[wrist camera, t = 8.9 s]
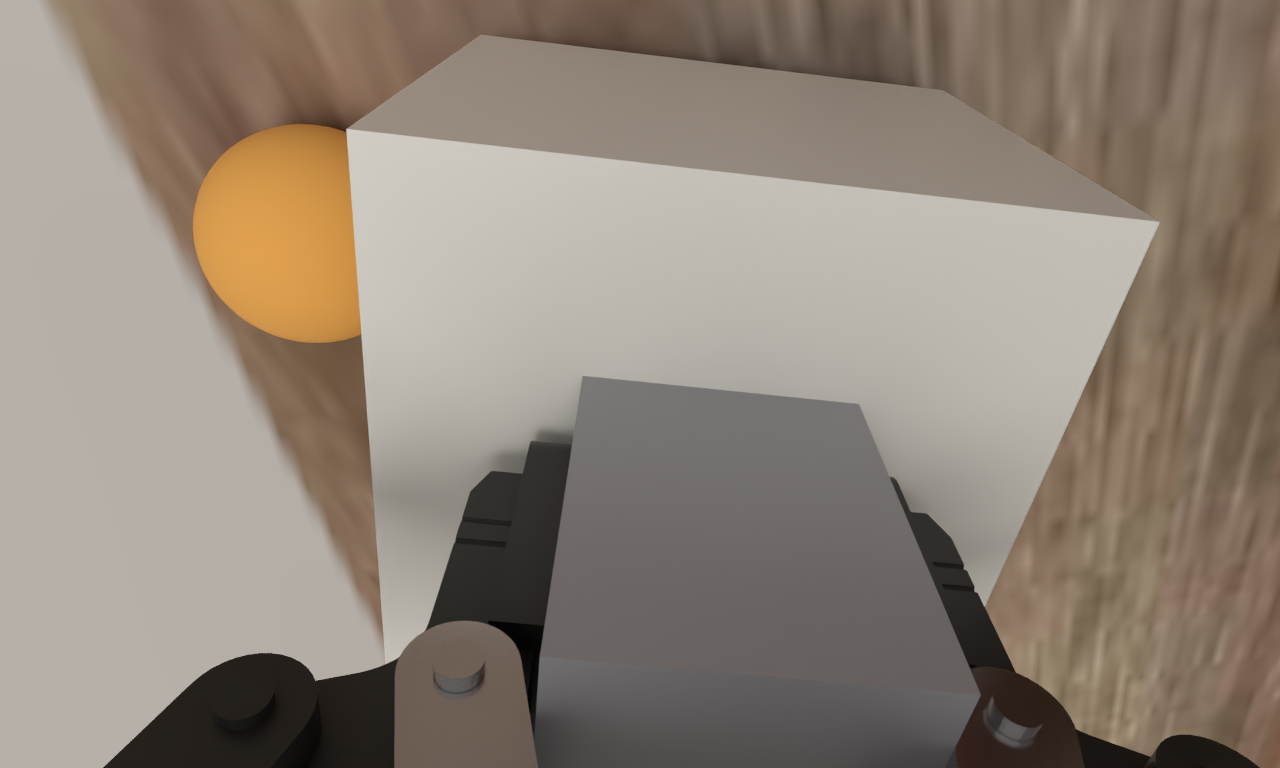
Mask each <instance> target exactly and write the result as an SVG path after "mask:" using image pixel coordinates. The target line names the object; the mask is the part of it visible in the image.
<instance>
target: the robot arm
mask: <svg viewBox="0 0 1280 768" xmlns="http://www.w3.org/2000/svg"><path fill="white" fill-rule="evenodd" d="M571 449H572V445H569V444H559V443H549V442H539V441H531V442H530V445H529V449H528V453H527V457H526V462H525V466H524V470H523V474H520V473H510V472H500V471H491V472H490V473H489V474H488V475H487V476H485V477H484V478H483V479H482V480H481V481H480V482H479V483H478V484H477V485H476V486H475V487H474V488H473V489H472V490H471V491H470V494H469V497H468V500H467V503H466V506H465V510H464V513H463V516H462V522H460V525H459V529H458V532H457V535H456V540H455V543H454V544H453V547H452V551H451V554H450V557H449V560H448V563H447V566H446V570H445V573H444V576H443V579H442V582H441V585H440V589H439V592H438V595H437V598H436V601H435V604H434V607H433V611H432V614H431V617H430V620H429V623H428V625H427V628H426V630H425V631H424V632H423V633H421V634H420V635H418V636H417V637H416V638H414V639H413V640H412V641H411V642H410V643H409V644H408V645H407V646H406V648H405V649H404V650H403V652H402V654H401V655H400V657H398V658H397V659H395V660H393V661H391V662H389V663H387V664H385V665H383V666H381V667H378V668H375V669H372V670H368V671H365V672H361V673H356V674H350V675H345V676H340V677H334V678H329V679H324V680H318V681H315V679H314V677H313V675H312V673H311V672H310V671H309V669H308V668H307V667H306V666H304V665H303V664H302V663H301V662H299V661H297V660H295V659H293V658H291V657H287V656H284V655H279V654H272V653H259V654H252V655H246V656H242V657H238V658H234V659H232V660H229V661H226V662H224V663H222V664H220V665H218V666H216V667H214V668H212V669H210V670H209V671H207V672H206V673H204V674H203V675H201V676H200V677H199V678H198V679H196V680H195V681H194V682H193V683H192V684H191V685H190V686H189V687H187V688H186V689H185V690H184V691H183V692H182V693H181V694H180V695H179V696H178V697H177V698H176V699H175V700H174V701H173V702H172V703H171V704H170V705H169V706H167V707H166V709H164V710H163V711H162V712H161V713H160V714H159V715H158V716H157V717H156V718H155V719H154V720H153V721H152V722H151V723H150V724H149V725H148V726H147V727H146V728H144V729H143V730H142V732H140V733H139V734H138V735H137V736H136V737H135V738H134V739H133V740H132V741H131V742H130V743H129V744H128V745H127V746H126V747H124V748H123V749H122V750H121V751H120V752H119V753H118V754H117V755H116V756H115V757H114V758H113V759H112V760H111V761H110V762H109V763H108V764H107V765H106V766H105V767H103V768H538V764H537V757H536V751H535V745H534V734H535V719H536V705H537V690H538V675H539V661H540V652H541V645H542V639H543V632H544V626H545V619H546V612H547V606H548V599H549V593H550V586H551V580H552V573H553V567H554V560H555V554H556V547H557V540H558V534H559V527H560V521H561V514H562V508H563V501H564V495H565V488H566V482H567V475H568V468H569V462H570V455H571ZM890 479H891V482H892V484H893V487H894V489H895V491H896V494H897V496H898V498H899V501H900V503H901V506H902V508H903V510H904V513H905V515H906V518H907V520H908V522H909V525H910V527H911V529H912V532H913V534H914V537H915V539H916V541H917V544H918V546H919V549H920V551H921V553H922V556H923V558H924V560H925V563H926V565H927V568H928V570H929V572H930V575H931V577H932V579H933V582H934V584H935V587H936V589H937V591H938V594H939V596H940V599H941V601H942V603H943V606H944V608H945V610H946V613H947V615H948V618H949V620H950V622H951V625H952V627H953V630H954V632H955V634H956V637H957V639H958V641H959V644H960V646H961V649H962V651H963V653H964V656H965V658H966V660H967V663H968V665H969V668H970V670H971V672H972V675H973V677H974V680H975V682H976V684H977V687H978V689H979V691H980V694H981V696H980V698H979V700H978V702H977V704H976V706H975V708H974V710H973V712H972V714H971V716H970V718H969V720H968V722H967V724H966V726H965V728H964V730H963V733H962V735H961V737H960V739H959V741H958V743H957V745H956V747H955V749H954V751H953V753H952V755H951V757H950V759H949V761H948V763H947V765H946V767H945V768H1260V767H1258V766H1257V765H1256V764H1254V763H1253V762H1252V761H1250V760H1249V759H1247V758H1246V757H1244V756H1243V755H1241V754H1240V753H1238V752H1236V751H1234V750H1233V749H1231V748H1229V747H1227V746H1225V745H1223V744H1220V743H1218V742H1215V741H1213V740H1210V739H1207V738H1203V737H1199V736H1193V735H1176V736H1171V737H1169V738H1167V739H1165V740H1164V741H1163V742H1161V743H1160V745H1159V746H1158V747H1157V749H1156V750H1155V752H1154V753H1153V755H1152V756H1151V757H1149V756H1146V755H1143V754H1141V753H1138V752H1135V751H1132V750H1129V749H1127V748H1124V747H1121V746H1118V745H1115V744H1112V743H1110V742H1107V741H1104V740H1101V739H1098V738H1096V737H1093V736H1090V735H1088V734H1085V733H1083V732H1080V731H1078V730H1077V729H1075V726H1074V724H1073V722H1072V720H1071V718H1070V716H1069V715H1068V713H1067V712H1066V710H1065V709H1064V708H1063V706H1062V705H1061V704H1060V703H1059V702H1058V701H1057V700H1056V699H1055V698H1054V697H1053V696H1052V695H1051V694H1050V693H1049V692H1048V691H1046V690H1045V689H1044V688H1042V687H1041V686H1039V685H1038V684H1037V683H1035V682H1033V681H1031V680H1030V679H1028V678H1026V677H1024V676H1022V675H1020V674H1018V673H1016V672H1015V670H1014V668H1013V666H1012V664H1011V661H1010V659H1009V657H1008V655H1007V653H1006V651H1005V649H1004V647H1003V645H1002V643H1001V641H1000V638H999V636H998V634H997V632H996V630H995V628H994V626H993V624H992V622H991V620H990V618H989V615H988V613H987V611H986V609H985V607H984V605H983V603H982V601H981V599H980V597H979V595H978V593H977V592H975V591H974V588H975V586H974V584H973V582H972V580H971V578H970V576H969V574H968V572H967V570H964V563H963V561H962V559H961V557H960V555H959V553H958V551H957V549H956V546H955V544H954V542H953V540H952V538H951V537H950V536H949V535H948V534H947V533H946V532H945V531H944V530H943V529H942V528H941V527H940V526H939V525H938V524H937V523H936V522H935V521H934V520H933V519H932V518H931V517H930V516H929V515H928V514H927V513H916V512H910V509H909V507H908V505H907V502H906V500H905V498H904V495H903V493H902V491H901V488H900V486H899V484H898V482H897V480H896V479H895V478H894V477H890Z"/></svg>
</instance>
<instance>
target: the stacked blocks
mask: <svg viewBox="0 0 1280 768" xmlns="http://www.w3.org/2000/svg"><path fill="white" fill-rule="evenodd" d="M346 132H347V145H348V159H349V172H350V186H351V200H352V213H353V227H354V240H355V254H356V268H357V281H358V295H359V308H360V322H361V335H362V349H363V363H364V376H365V390H366V403H367V417H368V431H369V444H370V458H371V471H372V485H373V498H374V512H375V526H376V539H377V553H378V566H379V580H380V594H381V607H382V621H383V634H384V648H385V661H386V664H387V663H389V662H391V661H393V660H395V659H397V658H398V657H400V655H401V654H402V652H403V650H404V649H405V648H406V646H407V645H408V644H409V643H410V642H411V641H412V640H413V639H414V638H416V637H417V636H418V635H420V634H421V633H423V632H424V631H425V630H426V628H427V625H428V623H429V620H430V617H431V614H432V611H433V607H434V604H435V601H436V598H437V595H438V592H439V589H440V585H441V582H442V579H443V576H444V573H445V570H446V566H447V563H448V560H449V557H450V554H451V551H452V547H453V544H454V543H455V540H456V535H457V532H458V529H459V525H460V522H462V516H463V513H464V510H465V506H466V503H467V500H468V497H469V494H470V491H471V490H472V489H473V488H474V487H475V486H476V485H477V484H478V483H479V482H480V481H481V480H482V479H483V478H484V477H485V476H487V475H488V474H489V473H490V472H491V471H500V472H510V473H520V474H523V470H524V466H525V462H526V457H527V453H528V449H529V445H530V442H531V441H539V442H549V443H559V444H569V445H572V449H571V455H570V462H569V468H568V475H567V482H566V488H565V495H564V501H563V508H562V514H561V521H560V527H559V534H558V540H557V547H556V554H555V560H554V567H553V573H552V580H551V586H550V593H549V599H548V606H547V612H546V619H545V626H544V632H543V639H542V645H541V652H540V661H539V675H538V690H537V705H536V719H535V734H534V745H535V751H536V757H537V764H538V768H945V767H946V765H947V763H948V761H949V759H950V757H951V755H952V753H953V751H954V749H955V747H956V745H957V743H958V741H959V739H960V737H961V735H962V733H963V730H964V728H965V726H966V724H967V722H968V720H969V718H970V716H971V714H972V712H973V710H974V708H975V706H976V704H977V702H978V700H979V698H980V696H981V694H980V691H979V689H978V687H977V684H976V682H975V680H974V677H973V675H972V672H971V670H970V668H969V665H968V663H967V660H966V658H965V656H964V653H963V651H962V649H961V646H960V644H959V641H958V639H957V637H956V634H955V632H954V630H953V627H952V625H951V622H950V620H949V618H948V615H947V613H946V610H945V608H944V606H943V603H942V601H941V599H940V596H939V594H938V591H937V589H936V587H935V584H934V582H933V579H932V577H931V575H930V572H929V570H928V568H927V565H926V563H925V560H924V558H923V556H922V553H921V551H920V549H919V546H918V544H917V541H916V539H915V537H914V534H913V532H912V529H911V527H910V525H909V522H908V520H907V518H906V515H905V513H904V510H903V508H902V506H901V503H900V501H899V498H898V496H897V494H896V491H895V489H894V487H893V484H892V482H891V479H890V477H894V478H895V479H896V480H897V482H898V484H899V486H900V488H901V491H902V493H903V495H904V498H905V500H906V502H907V505H908V507H909V509H910V512H916V513H927V514H928V515H929V516H930V517H931V518H932V519H933V520H934V521H935V522H936V523H937V524H938V525H939V526H940V527H941V528H942V529H943V530H944V531H945V532H946V533H947V534H948V535H949V536H950V537H951V538H952V540H953V542H954V544H955V546H956V549H957V551H958V553H959V555H960V557H961V559H962V561H963V563H964V570H967V572H968V574H969V576H970V578H971V580H972V582H973V584H974V586H975V588H974V591H975V592H977V593H978V595H979V597H980V599H981V601H982V603H983V605H984V607H985V605H986V603H987V601H988V599H989V596H990V594H991V592H992V590H993V588H994V585H995V583H996V581H997V579H998V577H999V574H1000V572H1001V570H1002V568H1003V566H1004V563H1005V561H1006V559H1007V557H1008V555H1009V552H1010V550H1011V548H1012V546H1013V544H1014V541H1015V539H1016V537H1017V535H1018V533H1019V530H1020V528H1021V526H1022V524H1023V522H1024V519H1025V517H1026V515H1027V513H1028V511H1029V508H1030V506H1031V504H1032V502H1033V500H1034V497H1035V495H1036V493H1037V491H1038V489H1039V486H1040V484H1041V482H1042V480H1043V478H1044V475H1045V473H1046V471H1047V469H1048V467H1049V464H1050V462H1051V460H1052V458H1053V456H1054V454H1055V451H1056V449H1057V447H1058V445H1059V443H1060V440H1061V438H1062V436H1063V434H1064V432H1065V429H1066V427H1067V425H1068V423H1069V421H1070V418H1071V416H1072V414H1073V412H1074V410H1075V407H1076V405H1077V403H1078V401H1079V399H1080V396H1081V394H1082V392H1083V390H1084V388H1085V385H1086V383H1087V381H1088V379H1089V377H1090V374H1091V372H1092V370H1093V368H1094V366H1095V363H1096V361H1097V359H1098V357H1099V355H1100V352H1101V350H1102V348H1103V346H1104V344H1105V341H1106V339H1107V337H1108V335H1109V333H1110V330H1111V328H1112V326H1113V324H1114V322H1115V319H1116V317H1117V315H1118V313H1119V311H1120V308H1121V306H1122V304H1123V302H1124V300H1125V297H1126V295H1127V293H1128V291H1129V289H1130V286H1131V284H1132V282H1133V280H1134V278H1135V275H1136V273H1137V271H1138V269H1139V267H1140V264H1141V262H1142V260H1143V258H1144V256H1145V254H1146V251H1147V249H1148V247H1149V245H1150V243H1151V240H1152V238H1153V236H1154V234H1155V232H1156V229H1157V227H1158V225H1159V223H1160V222H1159V221H1157V220H1156V219H1154V218H1153V217H1151V216H1149V215H1148V214H1146V213H1144V212H1143V211H1141V210H1139V209H1138V208H1136V207H1134V206H1133V205H1131V204H1130V203H1128V202H1126V201H1125V200H1123V199H1121V198H1120V197H1118V196H1116V195H1115V194H1113V193H1111V192H1110V191H1108V190H1106V189H1105V188H1103V187H1102V186H1100V185H1098V184H1097V183H1095V182H1093V181H1092V180H1090V179H1088V178H1087V177H1085V176H1083V175H1082V174H1080V173H1078V172H1077V171H1075V170H1074V169H1072V168H1070V167H1069V166H1067V165H1065V164H1064V163H1062V162H1060V161H1059V160H1057V159H1055V158H1054V157H1052V156H1051V155H1049V154H1047V153H1046V152H1044V151H1042V150H1041V149H1039V148H1037V147H1036V146H1034V145H1032V144H1031V143H1029V142H1027V141H1026V140H1024V139H1023V138H1021V137H1019V136H1018V135H1016V134H1014V133H1013V132H1011V131H1009V130H1008V129H1006V128H1004V127H1003V126H1001V125H999V124H998V123H996V122H995V121H993V120H991V119H990V118H988V117H986V116H985V115H983V114H981V113H980V112H978V111H976V110H975V109H973V108H971V107H970V106H968V105H967V104H965V103H963V102H962V101H960V100H958V99H957V98H955V97H953V96H952V95H950V94H948V93H947V92H945V91H944V90H937V89H929V88H920V87H912V86H904V85H895V84H887V83H879V82H870V81H862V80H854V79H845V78H837V77H829V76H821V75H812V74H804V73H796V72H787V71H779V70H771V69H762V68H754V67H746V66H737V65H729V64H721V63H712V62H704V61H696V60H687V59H679V58H671V57H663V56H654V55H646V54H638V53H629V52H621V51H613V50H604V49H596V48H588V47H579V46H571V45H563V44H554V43H546V42H538V41H529V40H521V39H513V38H505V37H496V36H488V35H480V36H478V37H477V38H475V39H474V40H473V41H471V42H470V43H468V44H467V45H465V46H464V47H463V48H461V49H460V50H458V51H457V52H455V53H454V54H453V55H451V56H450V57H448V58H447V59H445V60H444V61H443V62H441V63H440V64H438V65H437V66H435V67H434V68H433V69H431V70H430V71H428V72H427V73H425V74H424V75H423V76H421V77H420V78H418V79H417V80H415V81H414V82H413V83H411V84H410V85H408V86H407V87H405V88H404V89H403V90H401V91H400V92H398V93H397V94H395V95H394V96H393V97H391V98H390V99H388V100H387V101H385V102H384V103H383V104H381V105H380V106H378V107H377V108H375V109H374V110H373V111H371V112H370V113H368V114H367V115H365V116H364V117H363V118H361V119H360V120H358V121H357V122H355V123H354V124H353V125H351V126H350V127H348V128H347V129H346Z"/></svg>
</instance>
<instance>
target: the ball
mask: <svg viewBox="0 0 1280 768" xmlns="http://www.w3.org/2000/svg"><path fill="white" fill-rule="evenodd" d="M193 237H194V243H195V248H196V252H197V256H198V259H199V262H200V265H201V267H202V270H203V272H204V274H205V276H206V278H207V279H208V281H209V283H210V285H211V286H212V288H213V289H214V290H215V292H216V293H217V294H218V296H219V297H220V298H221V300H222V301H223V302H224V303H225V304H226V305H227V306H229V307H230V308H231V309H232V310H233V311H234V312H235V313H236V314H237V315H238V316H240V317H241V318H243V319H244V320H245V321H247V322H248V323H250V324H252V325H254V326H256V327H257V328H259V329H261V330H263V331H265V332H267V333H270V334H272V335H275V336H278V337H281V338H285V339H290V340H294V341H298V342H308V343H325V342H335V341H342V340H346V339H349V338H353V337H356V336H358V335H361V322H360V308H359V295H358V281H357V268H356V254H355V240H354V227H353V213H352V200H351V186H350V172H349V159H348V145H347V132H344V131H341V130H338V129H335V128H331V127H325V126H320V125H313V124H290V125H282V126H277V127H273V128H269V129H265V130H263V131H260V132H257V133H255V134H252V135H250V136H248V137H246V138H245V139H243V140H241V141H239V142H238V143H236V144H235V145H234V146H232V147H231V148H230V149H228V150H227V151H226V152H225V153H224V154H223V155H222V156H221V157H220V158H219V159H218V160H217V161H216V163H215V164H214V165H213V167H212V168H211V169H210V171H209V172H208V174H207V176H206V177H205V179H204V181H203V183H202V185H201V188H200V190H199V193H198V196H197V200H196V204H195V209H194V217H193Z"/></svg>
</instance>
